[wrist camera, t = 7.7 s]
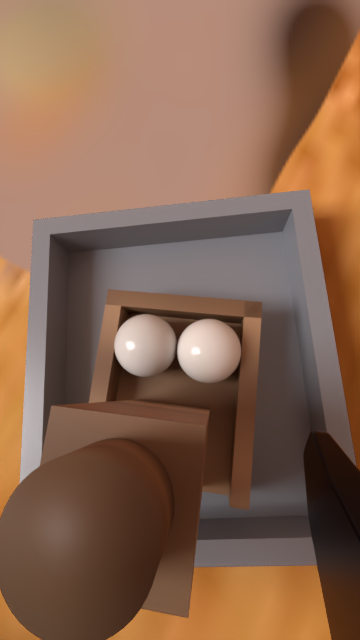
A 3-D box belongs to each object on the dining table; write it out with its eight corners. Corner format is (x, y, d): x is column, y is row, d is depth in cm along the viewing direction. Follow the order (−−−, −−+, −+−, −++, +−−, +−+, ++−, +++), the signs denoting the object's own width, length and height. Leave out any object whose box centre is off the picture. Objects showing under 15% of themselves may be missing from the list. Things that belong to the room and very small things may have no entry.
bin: (343, 533, 16) (373, 564, 13) (49, 540, 17) (15, 569, 14) (295, 219, 20) (309, 189, 17) (58, 244, 21) (33, 219, 18)
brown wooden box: (243, 490, 16) (332, 775, 4) (97, 468, 17) (-182, 646, 5) (254, 315, 18) (340, 157, 6) (123, 304, 19) (-34, 147, 7)
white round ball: (193, 364, 16) (182, 337, 14) (141, 397, 16) (120, 375, 13) (165, 322, 18) (150, 291, 15) (118, 351, 17) (94, 324, 15)
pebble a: (244, 373, 16) (262, 348, 14) (194, 403, 15) (203, 382, 13) (212, 327, 17) (222, 296, 15) (163, 352, 17) (166, 323, 14)
